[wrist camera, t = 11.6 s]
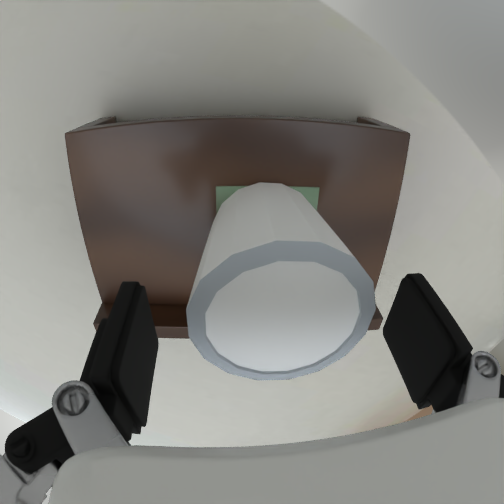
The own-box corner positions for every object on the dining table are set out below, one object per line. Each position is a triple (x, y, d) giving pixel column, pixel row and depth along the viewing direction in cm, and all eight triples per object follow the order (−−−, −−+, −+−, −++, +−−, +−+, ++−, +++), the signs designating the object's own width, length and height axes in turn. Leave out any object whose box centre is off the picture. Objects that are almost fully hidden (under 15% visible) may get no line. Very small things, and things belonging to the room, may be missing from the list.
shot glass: (243, 301, 19) (249, 399, 13) (174, 213, 16) (143, 303, 10) (346, 250, 18) (393, 338, 12) (293, 145, 14) (339, 200, 8)
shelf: (99, 118, 17) (44, 142, 11) (373, 118, 18) (431, 142, 12) (124, 271, 23) (97, 334, 17) (348, 268, 25) (379, 329, 19)
